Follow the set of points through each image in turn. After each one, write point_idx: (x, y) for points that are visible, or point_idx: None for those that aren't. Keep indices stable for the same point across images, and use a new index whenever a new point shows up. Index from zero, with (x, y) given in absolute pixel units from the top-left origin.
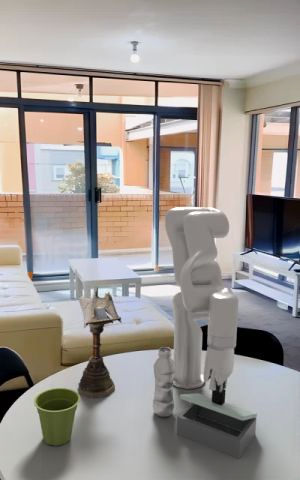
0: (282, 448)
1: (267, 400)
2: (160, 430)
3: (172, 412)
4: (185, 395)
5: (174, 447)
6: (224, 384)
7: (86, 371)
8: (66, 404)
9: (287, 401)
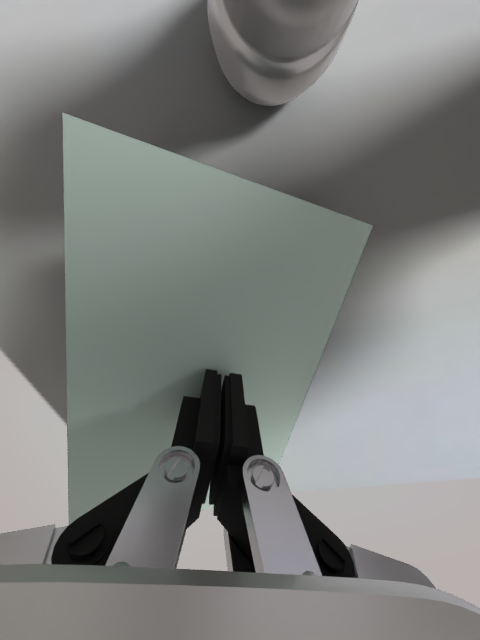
0: None
1: (445, 425)
2: (125, 85)
3: (257, 103)
4: (124, 176)
5: (51, 197)
6: (227, 565)
7: None
8: None
9: (444, 466)
